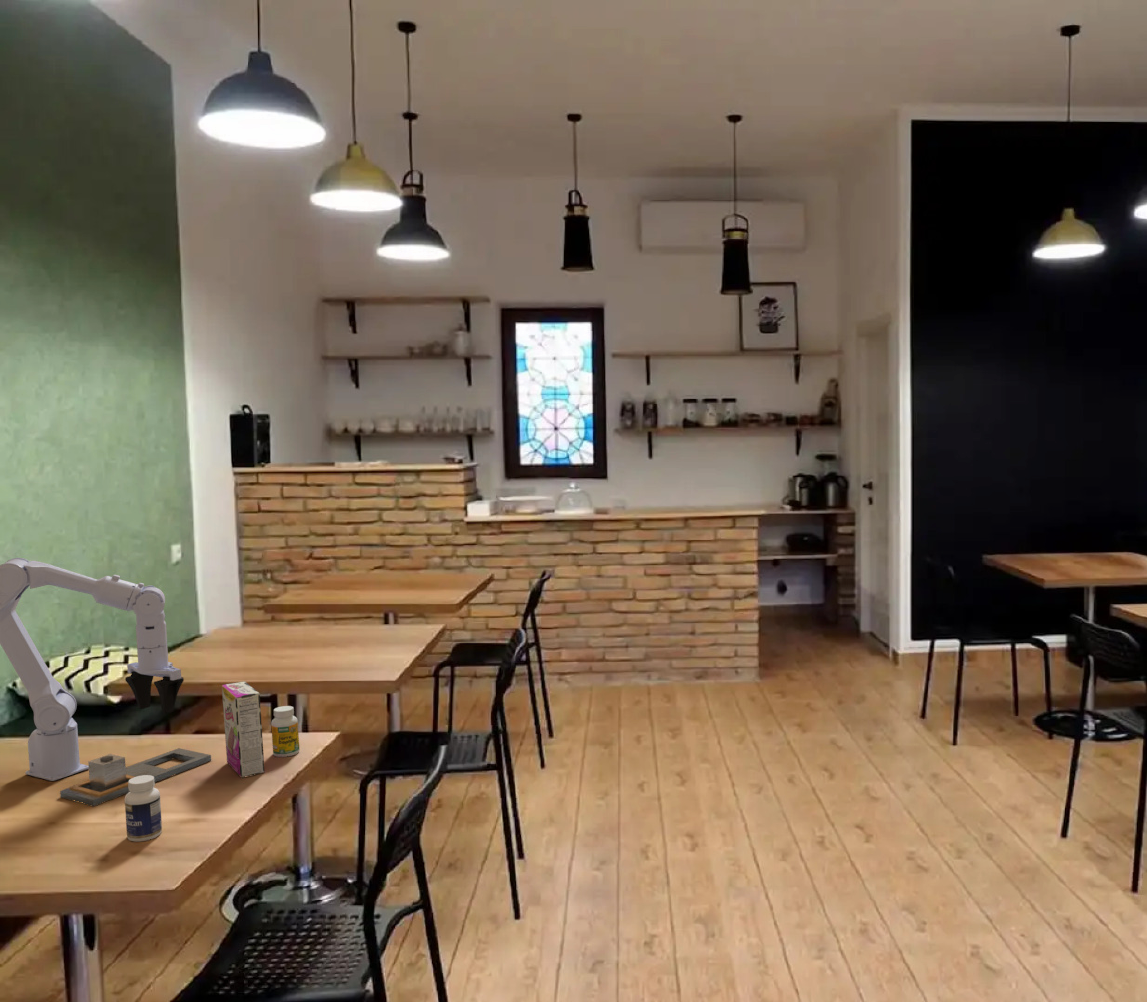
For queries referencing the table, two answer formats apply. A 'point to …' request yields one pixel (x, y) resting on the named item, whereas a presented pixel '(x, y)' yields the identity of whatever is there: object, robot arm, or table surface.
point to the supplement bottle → (285, 732)
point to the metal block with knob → (107, 772)
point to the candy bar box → (243, 728)
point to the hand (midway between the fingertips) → (156, 710)
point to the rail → (146, 767)
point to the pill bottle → (143, 809)
